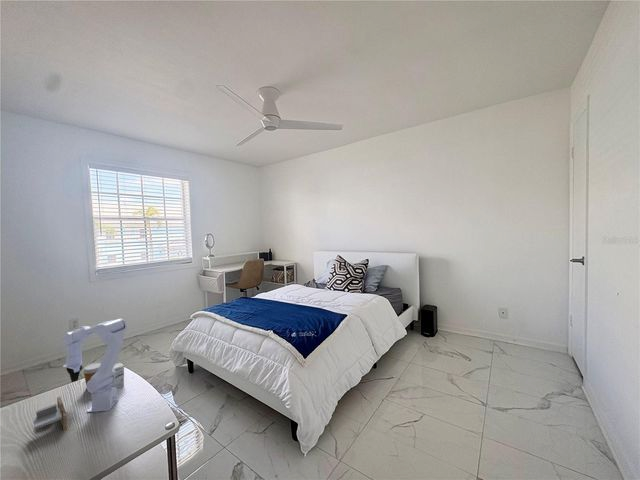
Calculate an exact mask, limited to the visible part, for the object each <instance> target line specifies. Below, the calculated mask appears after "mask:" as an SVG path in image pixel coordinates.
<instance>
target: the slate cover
mask: <svg viewBox="0 0 640 480" xmlns="http://www.w3.org/2000/svg"><path fill="white" fill-rule="evenodd" d="M35 415H36V416H35V417H33V418H32V423H33V424H32V425H33V430H38V429H40V428H42V427H45V426H47V425H51V424H53V423H56V422H58V421H61V419H62V416H61V412H60V409H58V408H57V403H55V404H52V405H51V404H50V405H49V406H46V407H44V408H40V409H38V410H35ZM50 423H51V424H50Z"/></svg>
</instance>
